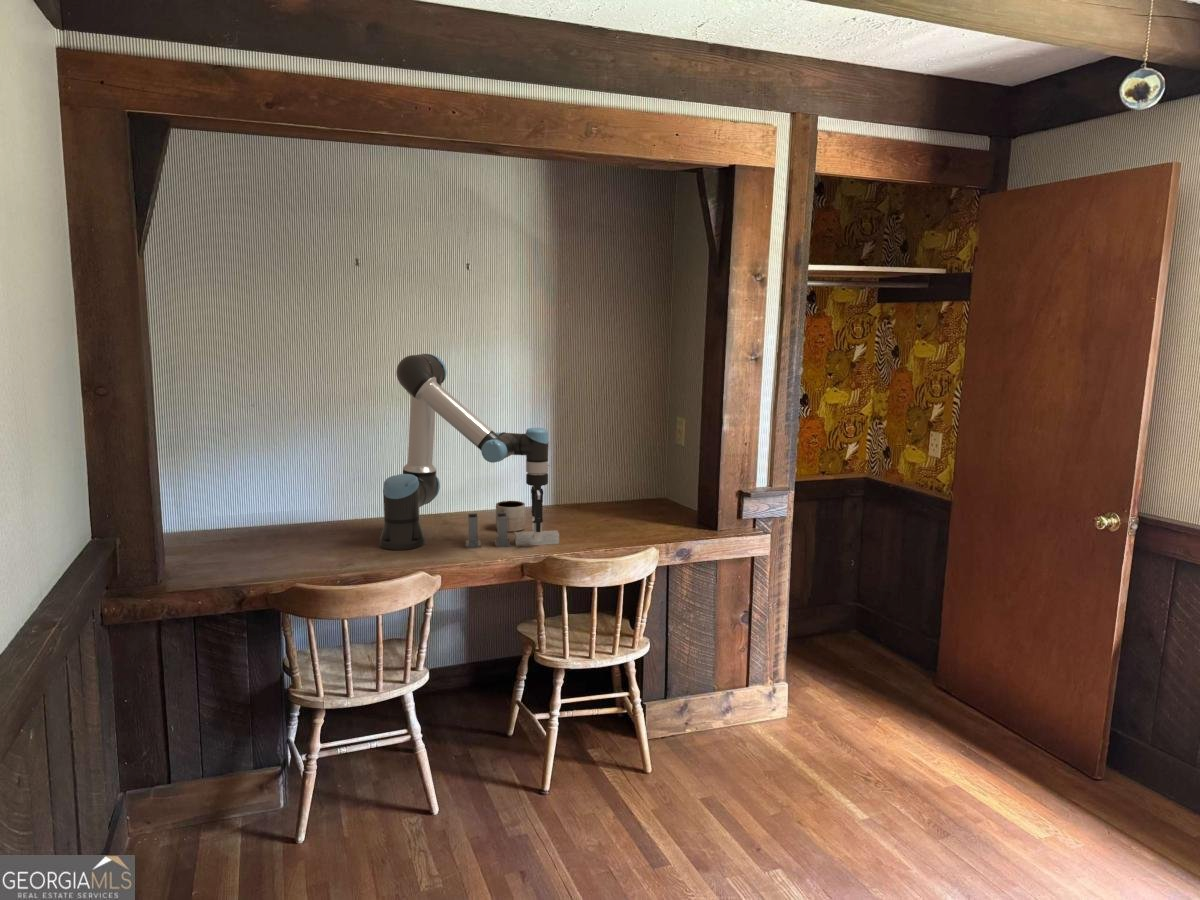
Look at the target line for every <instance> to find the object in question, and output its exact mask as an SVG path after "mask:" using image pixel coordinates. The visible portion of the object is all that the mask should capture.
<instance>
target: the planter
mask: <svg viewBox="0 0 1200 900" xmlns="http://www.w3.org/2000/svg"><path fill="white" fill-rule="evenodd" d="M525 504H526V503H525V502H522V501H519V500H502V501H499V502H496V503H495V529H496V530H497V531H498V524H497V513H506V517H507V533H515V532H523V531H524V530H525V528H526V505H525Z"/></svg>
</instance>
